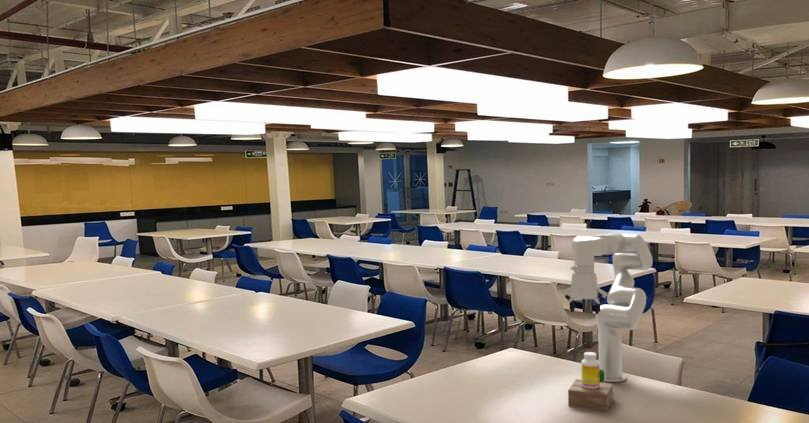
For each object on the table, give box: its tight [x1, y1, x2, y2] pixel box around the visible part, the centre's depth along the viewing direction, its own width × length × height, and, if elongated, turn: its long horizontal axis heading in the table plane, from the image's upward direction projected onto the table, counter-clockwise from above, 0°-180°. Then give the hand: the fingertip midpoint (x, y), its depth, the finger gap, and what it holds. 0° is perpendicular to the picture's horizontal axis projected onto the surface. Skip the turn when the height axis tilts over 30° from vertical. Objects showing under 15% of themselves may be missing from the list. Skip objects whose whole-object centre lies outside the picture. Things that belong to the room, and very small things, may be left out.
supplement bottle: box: [580, 351, 600, 389], centre depth 237 cm, size 7×7×13 cm
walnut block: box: [567, 378, 614, 412], centre depth 237 cm, size 14×14×6 cm
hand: (584, 312), depth 247 cm, fingers open, 9 cm apart
